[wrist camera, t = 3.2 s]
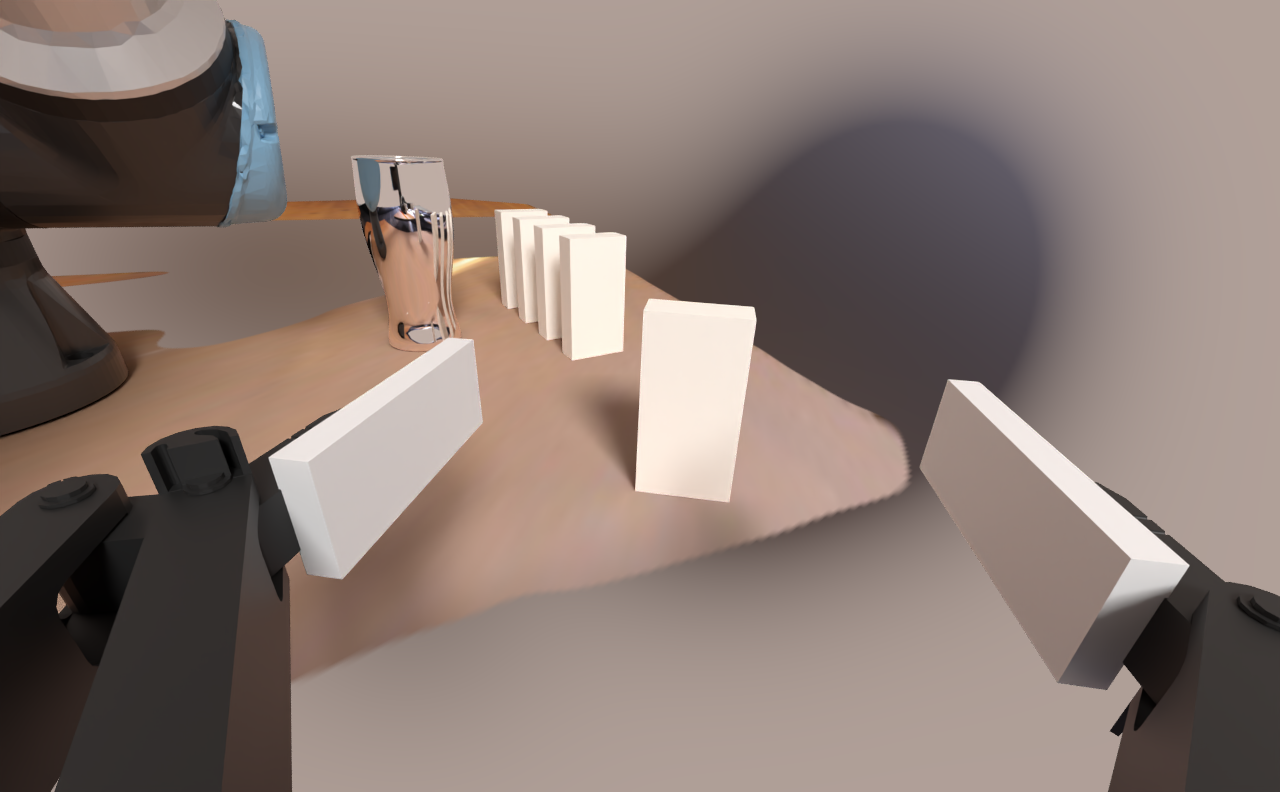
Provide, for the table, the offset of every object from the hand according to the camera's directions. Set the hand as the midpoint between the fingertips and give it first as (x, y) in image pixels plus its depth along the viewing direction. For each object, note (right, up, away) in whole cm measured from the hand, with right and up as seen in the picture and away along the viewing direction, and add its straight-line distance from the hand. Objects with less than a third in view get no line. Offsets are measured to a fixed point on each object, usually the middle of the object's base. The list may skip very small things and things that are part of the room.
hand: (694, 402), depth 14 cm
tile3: (-9, +6, +35) cm, 36 cm away
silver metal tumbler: (-21, +5, +32) cm, 38 cm away
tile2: (-6, +4, +31) cm, 31 cm away
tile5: (-14, +11, +43) cm, 47 cm away
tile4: (-11, +9, +39) cm, 41 cm away
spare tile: (+1, -5, +13) cm, 14 cm away
